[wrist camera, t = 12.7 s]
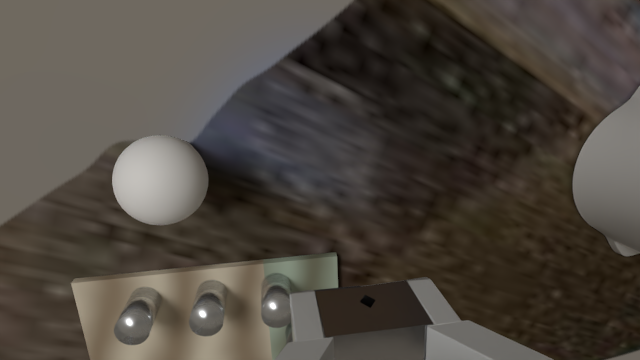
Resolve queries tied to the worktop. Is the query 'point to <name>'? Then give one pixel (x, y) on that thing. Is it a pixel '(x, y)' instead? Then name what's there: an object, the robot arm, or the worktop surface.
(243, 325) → the board
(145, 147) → the lightbulb
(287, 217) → the worktop surface
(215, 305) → the spacers
